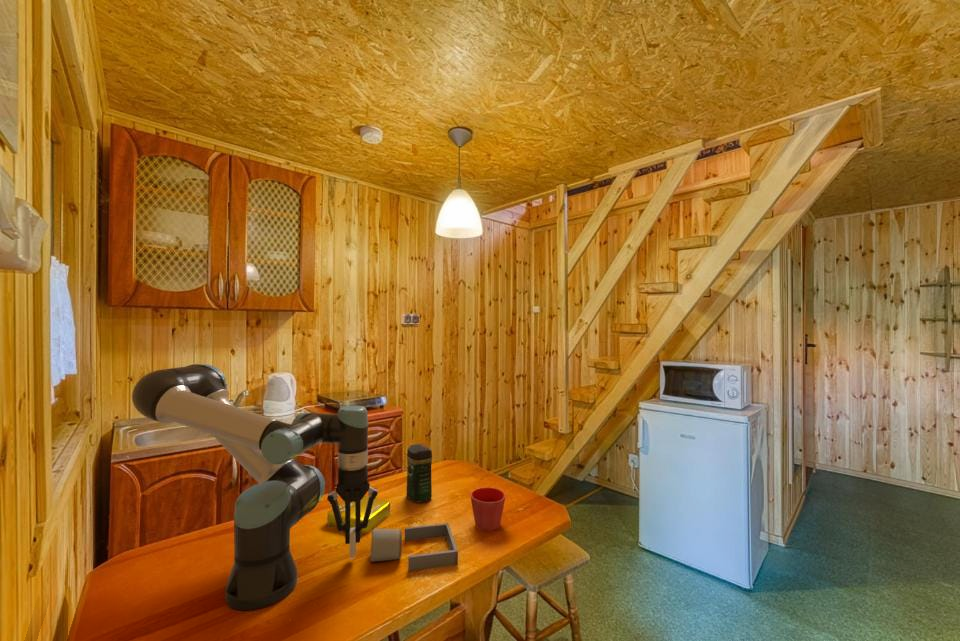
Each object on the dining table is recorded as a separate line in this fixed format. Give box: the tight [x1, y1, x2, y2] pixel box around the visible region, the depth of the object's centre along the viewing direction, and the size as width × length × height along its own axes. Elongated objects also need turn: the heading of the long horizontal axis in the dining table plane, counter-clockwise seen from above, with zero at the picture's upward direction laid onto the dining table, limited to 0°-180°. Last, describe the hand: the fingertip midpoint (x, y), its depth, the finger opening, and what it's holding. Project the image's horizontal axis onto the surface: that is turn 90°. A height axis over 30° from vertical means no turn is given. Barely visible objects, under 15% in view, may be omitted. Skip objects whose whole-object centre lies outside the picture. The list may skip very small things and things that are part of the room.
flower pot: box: [470, 486, 506, 532], centre depth 129 cm, size 11×11×10 cm
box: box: [404, 522, 459, 572], centre depth 114 cm, size 13×15×4 cm
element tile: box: [326, 495, 391, 535], centre depth 132 cm, size 15×15×5 cm
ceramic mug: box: [369, 528, 403, 563], centre depth 112 cm, size 11×8×8 cm
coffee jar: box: [406, 443, 433, 503], centre depth 147 cm, size 10×8×19 cm
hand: (352, 554), depth 109 cm, fingers closed
